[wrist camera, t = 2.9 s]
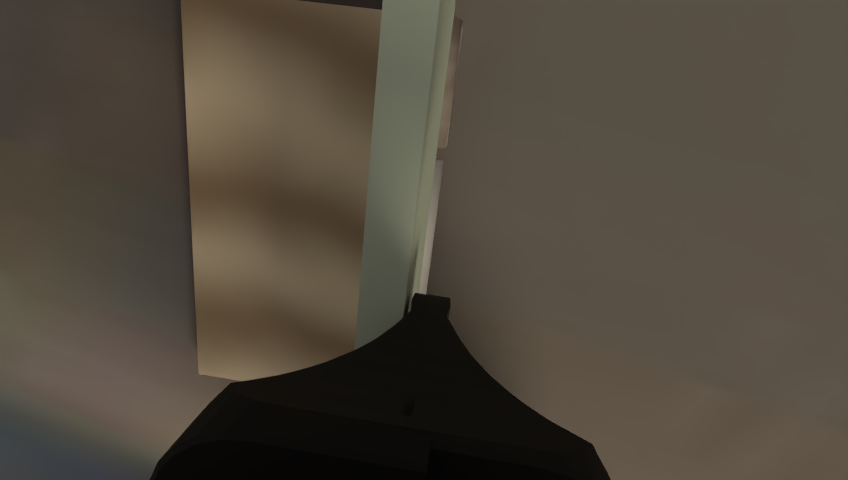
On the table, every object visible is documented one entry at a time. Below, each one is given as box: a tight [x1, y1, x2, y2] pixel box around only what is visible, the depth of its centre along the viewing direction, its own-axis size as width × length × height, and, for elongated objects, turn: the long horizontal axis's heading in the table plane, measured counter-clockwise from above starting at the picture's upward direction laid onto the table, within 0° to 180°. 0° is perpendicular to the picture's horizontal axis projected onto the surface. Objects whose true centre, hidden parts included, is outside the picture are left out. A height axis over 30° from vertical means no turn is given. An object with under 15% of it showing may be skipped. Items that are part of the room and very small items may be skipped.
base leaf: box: [181, 0, 463, 381], centre depth 19 cm, size 18×11×3 cm, turn 173°
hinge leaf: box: [355, 0, 455, 350], centre depth 14 cm, size 18×10×2 cm
